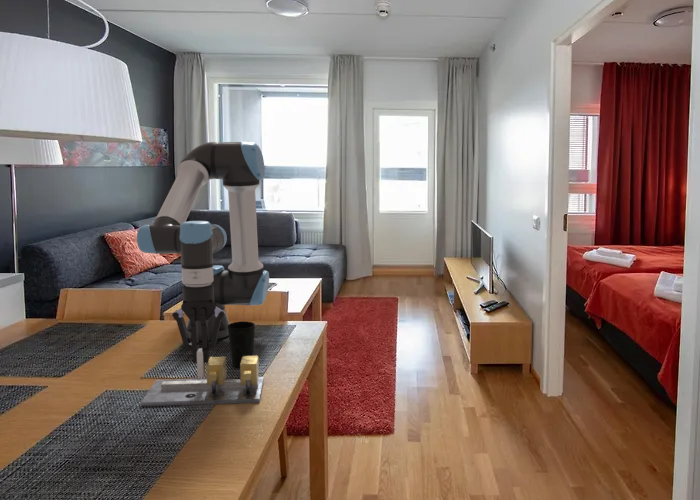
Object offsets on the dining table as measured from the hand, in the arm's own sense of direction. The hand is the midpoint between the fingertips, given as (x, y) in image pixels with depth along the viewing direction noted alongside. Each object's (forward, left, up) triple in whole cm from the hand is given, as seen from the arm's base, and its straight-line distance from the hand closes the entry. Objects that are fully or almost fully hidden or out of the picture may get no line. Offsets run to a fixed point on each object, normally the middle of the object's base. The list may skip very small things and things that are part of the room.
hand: (201, 374), depth 138 cm
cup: (-18, +8, -5) cm, 20 cm away
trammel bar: (+2, +2, -3) cm, 4 cm away
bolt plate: (+1, +1, -4) cm, 5 cm away
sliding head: (+2, +4, -3) cm, 5 cm away
